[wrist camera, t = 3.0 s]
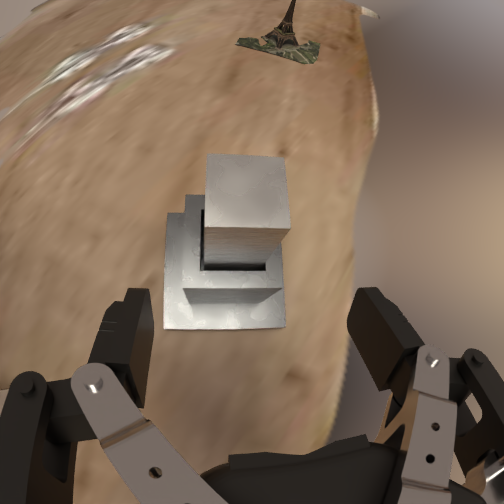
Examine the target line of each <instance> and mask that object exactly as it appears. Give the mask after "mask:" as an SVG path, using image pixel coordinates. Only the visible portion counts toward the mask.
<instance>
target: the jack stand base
mask: <svg viewBox="0 0 504 504" xmlns="http://www.w3.org/2000/svg"><path fill="white" fill-rule="evenodd" d="M204 227H205V195H186V198H185V213H168V216H167V231H166V248H165V272H164V329H179V330H231V329H267V328H284V327H286V317H285V298H284V280H283V264H282V248H281V242H280V244H279V245H278V246H277V247H276V249H275V250H274V251H273V253H272V254H271V255H270V257H269V258H268V259H267V260H266V262H265V263H264V264H263V266H262V267H261V268H260V270H259V271H204Z"/></svg>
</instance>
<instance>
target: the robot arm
mask: <svg viewBox="0 0 504 504" xmlns="http://www.w3.org/2000/svg"><path fill="white" fill-rule="evenodd" d="M347 329H348V332H349V334H350V336H351V338H352V339H353V341H354V343H355V345H356V347H357V349H358V351H359V353H360V355H361V357H362V358H363V360H364V362H365V364H366V366H367V368H368V370H369V372H370V374H371V376H372V378H373V380H374V382H375V384H376V386H377V388H378V390H379V391H383V390H387V389H391V391H392V393H391V394H390V396H389V398H388V402H387V406H386V410H385V414H384V417H383V421H382V424H381V427H380V431H379V433H378V436H377V438H376V439H375V441H374V442H368V439H367V437H366V434H364V435H360V436H356V437H352V438H347V439H343V440H339V441H335V442H333V443H331V444H329V445H327V446H324V447H322V448H320V449H318V450H316V451H313V452H311V453H309V454H306V455H291V454H279V453H270V452H261V453H249V454H233V455H229V458H228V463H225V464H222V465H219V466H216V467H214V468H212V469H210V470H208V471H206V472H204V473H203V474H201V475H200V476H199V475H198V474H197V473H196V472H195V471H194V470H193V469H192V468H191V466H190V465H189V464H188V463H187V462H186V461H185V460H184V459H183V458H182V457H181V456H180V454H179V453H178V452H177V451H176V450H175V449H174V448H173V446H172V445H171V444H170V443H169V442H168V441H167V439H166V438H165V437H164V436H163V435H162V433H161V432H160V431H159V430H158V428H157V427H156V426H155V425H154V424H153V423H152V422H151V421H150V420H147V419H146V418H145V417H144V416H143V415H142V413H141V412H140V411H139V409H138V408H144V403H145V395H146V386H147V379H148V371H149V364H150V357H151V351H152V344H153V338H154V320H153V313H152V306H151V299H150V292H149V289H146V288H128V290H127V293H126V295H125V298H124V301H123V302H121V301H115V302H114V303H113V304H112V305H111V306H110V307H109V308H108V309H107V310H106V312H105V314H104V317H103V320H102V322H101V325H100V328H99V331H98V333H97V336H96V339H95V342H94V345H93V348H92V351H91V354H90V357H89V360H88V363H87V364H86V365H83V366H81V367H80V368H78V369H77V370H76V371H75V373H74V374H73V376H72V378H70V379H65V380H58V381H51V382H46V380H45V379H44V377H43V376H42V375H41V374H39V373H37V372H34V371H28V372H24V373H21V374H19V375H18V376H17V377H16V378H15V379H14V380H13V381H12V383H11V385H10V388H9V391H8V393H7V396H6V399H5V402H4V405H3V409H2V412H1V415H0V504H73V485H74V472H75V461H76V452H77V444H78V441H85V440H92V439H98V440H99V441H100V443H101V444H100V445H101V447H102V449H103V450H104V452H105V454H106V455H107V457H108V458H109V460H110V461H111V463H112V464H113V466H114V467H115V469H116V470H117V472H118V473H119V475H120V476H121V478H122V479H123V481H124V482H125V483H126V485H127V486H128V487H129V489H130V490H131V491H132V493H133V494H134V495H135V497H136V498H137V499H138V501H139V502H140V503H141V504H504V382H503V380H502V378H501V377H500V376H499V374H498V372H497V371H496V370H495V368H494V367H493V365H492V364H491V362H490V361H489V360H488V358H487V357H486V355H484V354H483V353H482V352H481V351H479V350H476V349H472V348H471V349H467V350H466V351H465V352H464V354H463V356H462V357H461V358H448V356H447V355H446V354H445V352H444V351H443V350H441V349H440V348H438V347H436V346H433V345H425V344H424V342H423V341H422V339H421V338H420V337H419V335H418V334H417V332H416V331H415V330H414V328H413V327H412V326H411V324H410V323H409V322H408V320H407V319H406V318H405V316H403V314H402V312H401V311H400V310H399V308H398V307H397V306H396V305H395V304H394V303H392V302H391V301H390V300H388V299H386V298H385V297H384V295H383V294H382V293H381V292H380V290H379V289H378V288H377V287H365V288H358V290H357V291H356V294H355V297H354V300H353V303H352V306H351V309H350V311H349V314H348V317H347ZM471 393H473V395H474V397H475V398H476V400H477V402H478V404H479V405H480V407H481V409H482V418H481V420H480V421H479V422H478V423H476V421H475V419H474V417H473V415H472V413H471V411H470V410H469V408H468V406H467V405H466V402H465V400H466V399H467V397H468V396H469V395H470V394H471ZM453 451H454V452H455V455H456V457H457V459H458V462H459V464H460V466H461V469H462V471H463V474H464V476H465V478H466V481H465V483H464V484H463V485H460V484H458V483H456V482H454V481H452V480H450V479H449V477H450V472H451V465H452V458H453Z"/></svg>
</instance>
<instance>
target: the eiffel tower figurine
mask: <svg viewBox="0 0 504 504" xmlns="http://www.w3.org/2000/svg"><path fill="white" fill-rule="evenodd" d="M295 2H296V0H292V1H291V4H290V6H289V9H288V11H287V13H286V15H285V17H284V19H283V20H282V22H281V23H280V24H279V26H278V27H275V28H274V30H273V31H271V32H270V33H268V34H267V35H265V36H262V37H261V38H263V39H264V40H265V41H266V42H267V44H266V45H263V46H260V44H259V40H258V39H256V38H250V37H248V38H239V40H238V41H237V43H236V45H241V46H245V47H249V48H252V49H256V50H260V51H264V52H268V53H272V54H275V55H279V56H282V57H285V58H288V59H291V60H294V61H297V62H300V63H302V64H313V63H314V62H315V61H316V60H317V58H318V53H319V48H320V44H319V43H316V42H312V41H308V43H306V44H303V45H298V42H297V40H296V38H295V36H294V35H295V33H294V32H293V27H292V23H293V22H292V18H293V12H294V7H295ZM283 25H284V27H283ZM288 26H289V28H288Z"/></svg>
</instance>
